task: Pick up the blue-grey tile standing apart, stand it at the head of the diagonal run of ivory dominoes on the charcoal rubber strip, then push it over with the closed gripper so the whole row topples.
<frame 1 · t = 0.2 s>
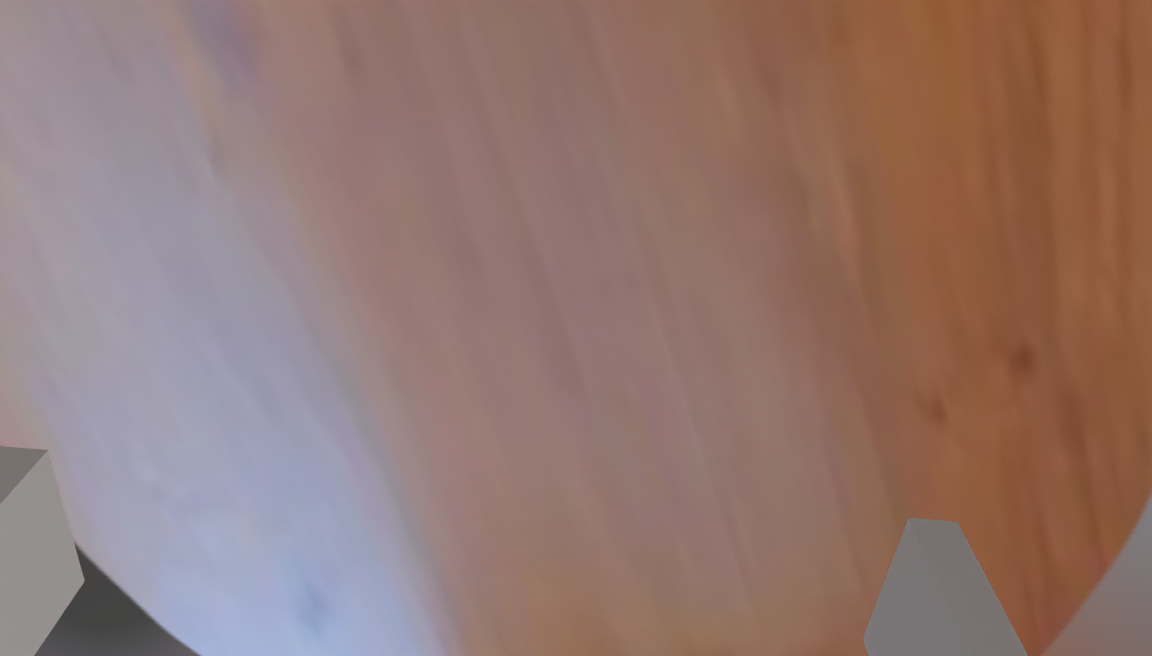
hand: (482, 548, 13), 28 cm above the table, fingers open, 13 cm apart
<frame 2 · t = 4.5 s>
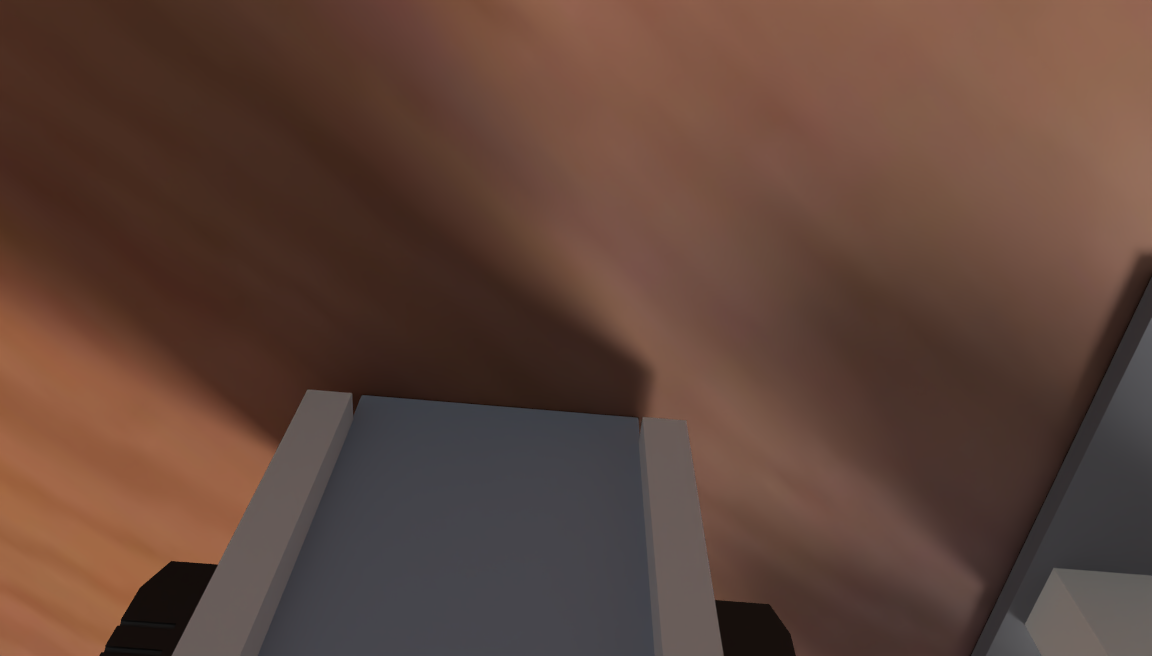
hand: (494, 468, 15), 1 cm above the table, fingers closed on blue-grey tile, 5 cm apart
blue-grey tile: (498, 441, 16), on the table, touching gripper
when the fingers open (2 cm above the table, at t = 9.3 s): blue-grey tile stays where it is, resting on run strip.
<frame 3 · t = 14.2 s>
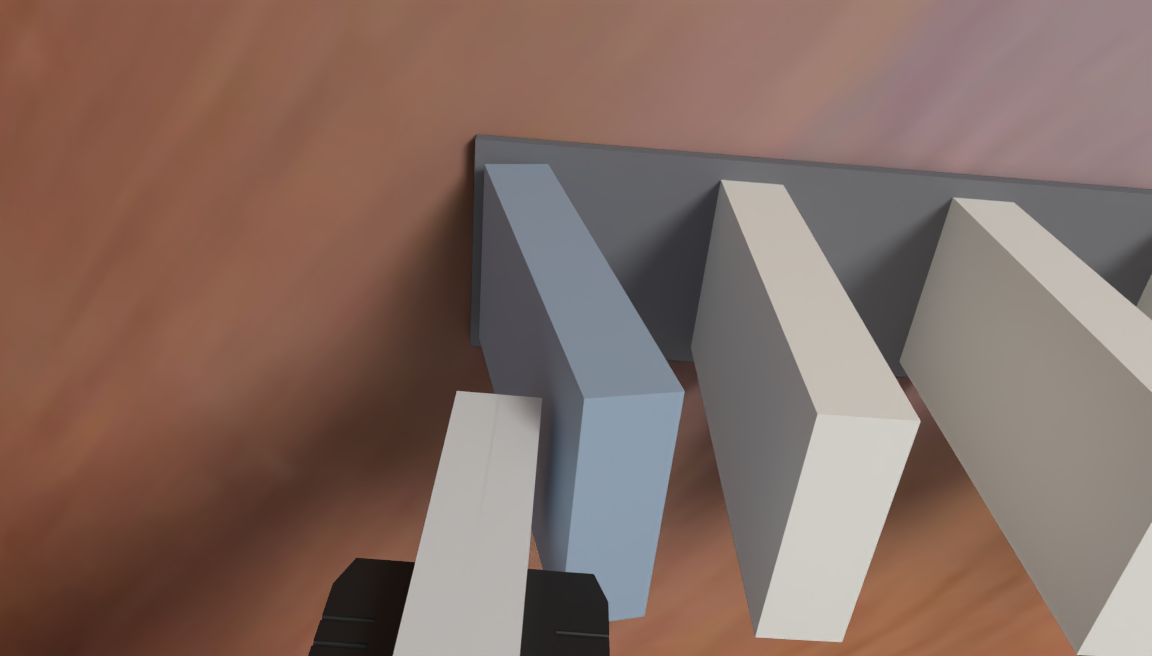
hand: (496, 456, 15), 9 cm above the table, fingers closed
tile 3: (953, 286, 23), resting on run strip
tile 2: (734, 270, 23), resting on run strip
blue-grey tile: (511, 254, 22), point 1 cm above the table, tilted 14°, touching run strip
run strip: (948, 279, 24), on the table
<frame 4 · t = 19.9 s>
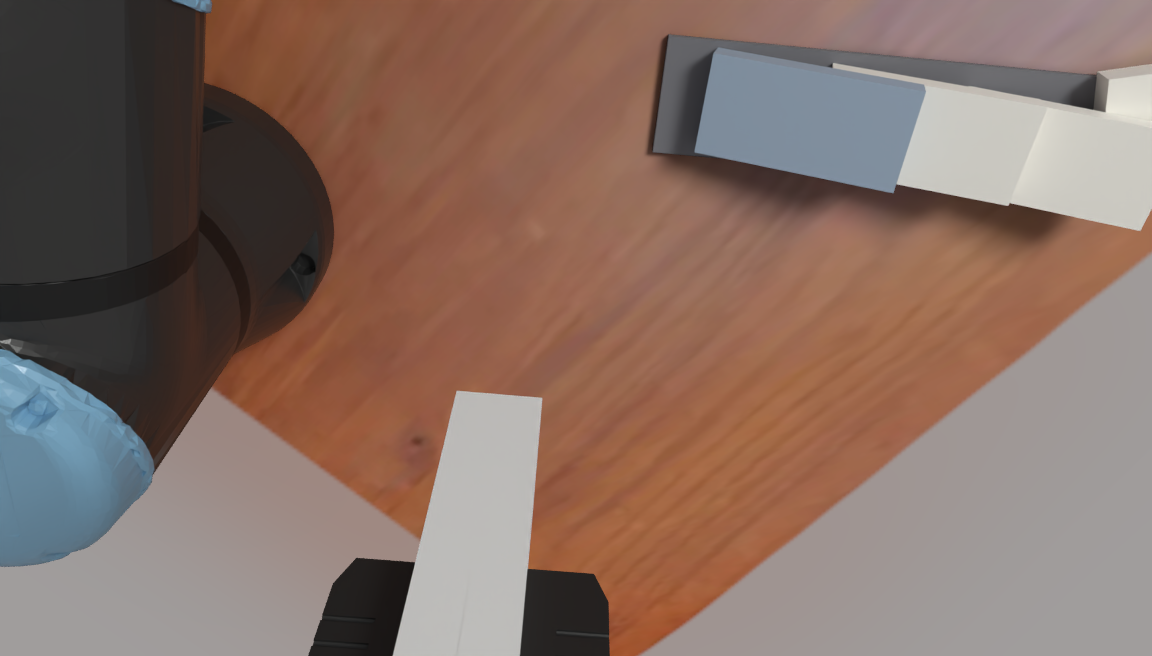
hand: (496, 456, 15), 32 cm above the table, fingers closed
tile 3: (953, 137, 44), point 1 cm above the table, tilted 76°, touching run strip, tile 2, tile 4
tile 2: (819, 115, 44), point 1 cm above the table, tilted 77°, touching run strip, blue-grey tile, tile 3
tile 4: (1098, 124, 44), point 1 cm above the table, tilted 82°, touching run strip, tile 3
blue-grey tile: (706, 100, 43), point 1 cm above the table, tilted 74°, touching tile 2
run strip: (906, 117, 45), on the table
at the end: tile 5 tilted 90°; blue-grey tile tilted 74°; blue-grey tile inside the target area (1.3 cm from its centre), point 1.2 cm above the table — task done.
